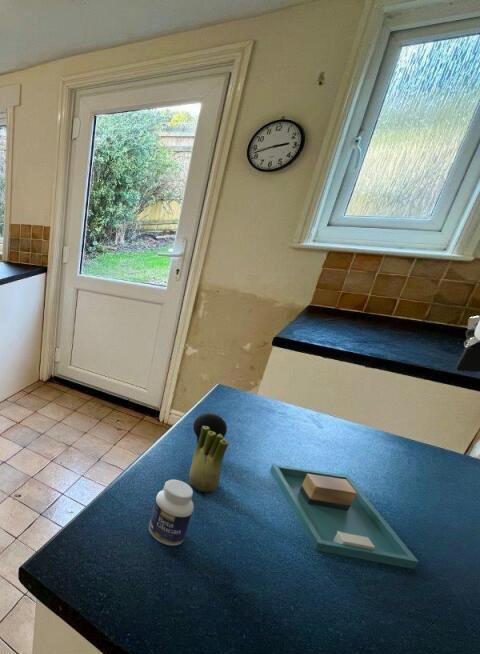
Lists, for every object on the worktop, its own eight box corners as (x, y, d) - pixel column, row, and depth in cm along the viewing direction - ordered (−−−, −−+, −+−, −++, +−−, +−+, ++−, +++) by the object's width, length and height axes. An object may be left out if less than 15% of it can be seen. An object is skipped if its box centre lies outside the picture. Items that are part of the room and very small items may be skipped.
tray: (344, 484, 79) (349, 475, 78) (412, 571, 62) (419, 561, 61) (268, 472, 82) (272, 464, 81) (313, 552, 65) (318, 542, 64)
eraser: (337, 496, 75) (346, 479, 73) (348, 510, 72) (357, 493, 70) (299, 490, 76) (307, 473, 75) (307, 504, 73) (316, 486, 71)
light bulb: (181, 446, 89) (192, 407, 85) (210, 448, 89) (222, 408, 84) (192, 464, 84) (204, 422, 80) (222, 465, 84) (236, 424, 79)
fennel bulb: (184, 473, 81) (198, 422, 76) (211, 478, 80) (228, 426, 75) (189, 494, 76) (205, 440, 71) (219, 499, 75) (237, 445, 70)
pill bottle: (149, 542, 67) (161, 495, 62) (147, 517, 71) (158, 473, 67) (186, 550, 65) (201, 503, 61) (181, 525, 70) (195, 480, 66)
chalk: (362, 546, 65) (368, 537, 64) (369, 556, 63) (375, 547, 62) (332, 540, 66) (337, 531, 65) (338, 550, 64) (343, 541, 63)
